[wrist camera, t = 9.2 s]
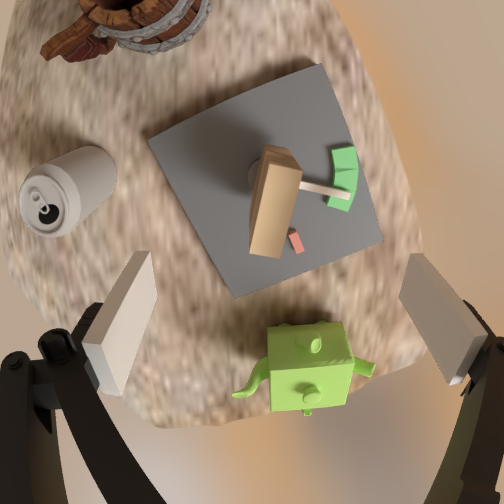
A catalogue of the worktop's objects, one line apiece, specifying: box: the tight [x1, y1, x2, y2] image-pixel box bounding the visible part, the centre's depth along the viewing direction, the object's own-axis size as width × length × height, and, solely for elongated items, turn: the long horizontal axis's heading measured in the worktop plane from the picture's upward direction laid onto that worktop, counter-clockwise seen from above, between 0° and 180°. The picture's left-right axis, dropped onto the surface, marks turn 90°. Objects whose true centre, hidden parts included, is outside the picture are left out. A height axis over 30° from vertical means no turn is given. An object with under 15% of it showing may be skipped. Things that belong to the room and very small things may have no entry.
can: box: [18, 146, 117, 237], centre depth 30 cm, size 8×8×12 cm
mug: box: [40, 0, 212, 63], centre depth 22 cm, size 12×14×15 cm
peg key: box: [248, 143, 351, 259], centre depth 29 cm, size 11×7×12 cm, turn 78°
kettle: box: [231, 320, 376, 416], centre depth 43 cm, size 15×14×11 cm
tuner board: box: [147, 63, 383, 299], centre depth 35 cm, size 22×20×3 cm
